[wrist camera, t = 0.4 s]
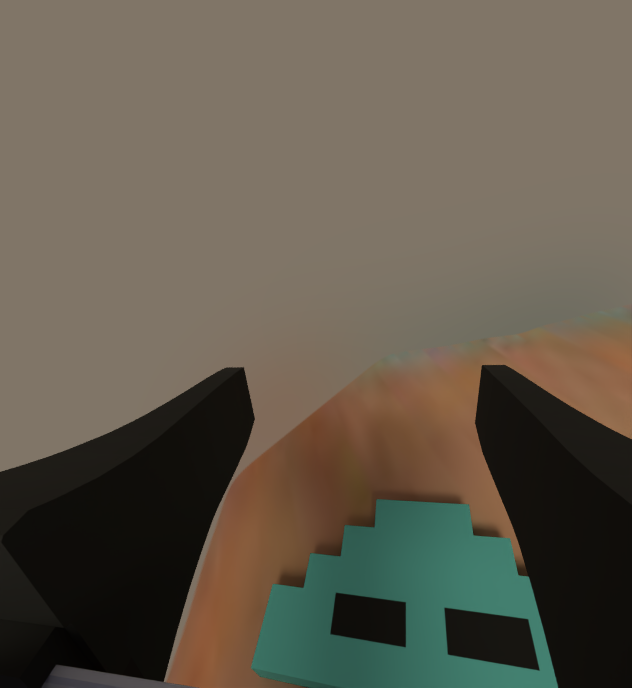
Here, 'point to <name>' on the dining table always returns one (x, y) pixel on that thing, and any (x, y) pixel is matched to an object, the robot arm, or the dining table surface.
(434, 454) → the dining table surface
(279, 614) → the alien figure
